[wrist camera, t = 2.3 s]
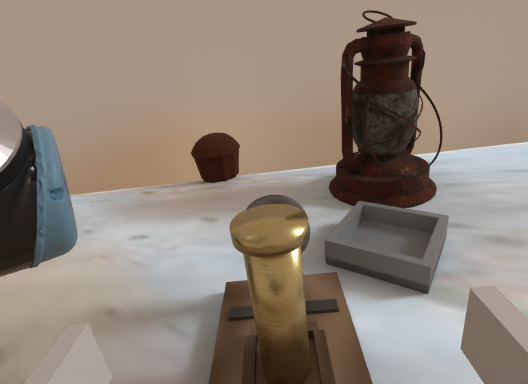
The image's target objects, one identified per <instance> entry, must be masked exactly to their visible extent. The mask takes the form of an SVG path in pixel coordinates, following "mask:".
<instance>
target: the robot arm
mask: <svg viewBox="0 0 528 384" xmlns="http://www.w3.org/2000/svg"><path fill="white" fill-rule="evenodd" d="M77 236H78V235H77V227H76V222H75V217H74V212H73V208H72V203H71V199H70V194H69V190H68V186H67V182H66V178H65V174H64V170H63V166H62V162H61V158H60V155H59V151H58V148H57V144H56V141H55V138H54V135H53V133H52V131H51V130H50V129H49V128H47V127H44V126H40V127H39V126H38V127H37V126H34V125H31V126H27V128H26V129H24V128H23V127H22V125H21V123H20V121H19V119H18V118H17V116H16V115H15V114H14V112H13V111H12V110H11V109H10V108H9V107H8V106H7V105H5V104H4V103H2V102H0V277H1V276H4V275H7V274H11V273H14V272H17V271H20V270H24V269H27V268H34V267H37V266H38V265H39V264H40V263H42V262H45V261H47V260H50V259H53V258H56V257H58V256H61V255H64V254H66V253H67V252H69V251H70V250H71V249H72V248H73V247H74V246H75V244H76V242H77ZM461 350H462V351H463V353H464V354H465V356H466V357H467V359H468V360H469V362H470V363H471V365H472V366H473V368H474V369H475V371H476V372H477V374H478V375H479V377H480V378H481V380H482V381H483V383H484V384H528V319H527V318H526V317H525V316H524V315H523V314H522V313H521V312H520V311H519V310H518V309H517V308H516V307H515V306H514V305H513V304H512V303H511V302H510V301H509V300H508V299H507V298H506V297H505V296H504V295H503V294H502V293H501V292H500V291H499V290H498V289H497V288H496V287H495V286H488V287H477V288H470V294H469V300H468V306H467V312H466V318H465V324H464V330H463V336H462V343H461ZM111 379H112V375H111V373H110V370H109V368H108V366H107V364H106V361H105V359H104V357H103V355H102V352H101V350H100V348H99V346H98V344H97V341H96V339H95V337H94V335H93V332H92V330H91V328H90V326H89V323H84V324H73V325H67V326H66V328H65V329H64V330H63V332H62V333H61V334H60V336H59V337H58V338H57V340H56V341H55V343H54V344H53V345H52V347H51V348H50V349H49V351H48V352H47V353H46V355H45V356H44V357H43V359H42V360H41V361H40V363H39V364H38V365H37V367H36V368H35V369H34V371H33V372H32V373H31V375H30V376H29V378H28V379H27V380H26V382H25V383H24V384H109V383H110V381H111Z"/></svg>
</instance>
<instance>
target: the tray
mask: <svg viewBox="0 0 528 384" xmlns="http://www.w3.org/2000/svg"><path fill="white" fill-rule="evenodd" d="M448 218H449V216H447V215H441V214H435V213H429V212H423V211H417V210H411V209H405V208H399V207H393V206H387V205H381V204H375V203H369V202H363V201H358V203H357V204H356V205H355V206H354V207H353V208H352V209H351V211H350V212H349V213H348V214H347V215H346V216H345V217H344V219H343V220H342V221H341V222H340V223H339V224H338V226H337V227H336V228H335V229H334V230H333V231H332V232H331V234H330V235H329V236H328V237H327V238H326V239H325V258H326V263H327V264H331V265H334V266H337V267H341V268H344V269H347V270H351V271H354V272H357V273H361V274H364V275H367V276H371V277H374V278H378V279H381V280H384V281H388V282H391V283H394V284H398V285H401V286H404V287H408V288H411V289H414V290H418V291H421V292H425V293H428V292H429V289H430V286H431V283H432V280H433V276H434V273H435V270H436V267H437V264H438V261H439V258H440V255H441V252H442V249H443V245H444V242H445V239H446V233H447V226H448Z"/></svg>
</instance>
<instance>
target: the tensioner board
mask: <svg viewBox="0 0 528 384" xmlns="http://www.w3.org/2000/svg"><path fill="white" fill-rule="evenodd" d="M266 204H286V205H291V206H294V207H297V208H299V209H301V210H302V211H304V209H303V208H302V207H301V206H300V204H298V203H297V202H296V201H295V200H293V199H291V198H289V197H286V196H282V195H268V196H264V197H261V198H259V199H257V200H255V201H254V202H253V203H251V204H250V205H249V206H248V208H247V209H249V208H252V207H256V206H260V205H266ZM247 209H246V210H247ZM304 212H305V211H304ZM308 228H309V236H308V238H307V240H306V242H305V243H304V244H303V245H302V246H301V253H302V252H303V251H304V250H305V248H306V247H307V245H308V242H309V239H310V227H309V223H308ZM303 279H304V292H305V304H306V317H307V329H308V342H309V354H310V366H311V367H310V374H309V376H308V378H307V380H306V381H305V382H304V383H303V384H372V381H371V378H370V374H369V371H368V368H367V365H366V362H365V359H364V356H363V353H362V350H361V347H360V343H359V340H358V337H357V334H356V331H355V328H354V325H353V322H352V319H351V315H350V312H349V309H348V306H347V303H346V300H345V297H344V294H343V291H342V288H341V284H340V281H339V278H338V275H337V272H335V273H324V274H312V275H303ZM209 384H270V383H269V382H268V381H267V380H266V378H265V376H264V373H263V368H262V362H261V356H260V350H259V344H258V338H257V332H256V326H255V320H254V314H253V308H252V302H251V296H250V291H249V285H248V280H246V281H235V282H226V287H225V293H224V299H223V305H222V310H221V316H220V322H219V328H218V334H217V340H216V346H215V351H214V357H213V363H212V369H211V375H210V381H209Z"/></svg>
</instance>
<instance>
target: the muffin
mask: <svg viewBox="0 0 528 384" xmlns="http://www.w3.org/2000/svg"><path fill="white" fill-rule="evenodd" d="M239 147H240V145H239V144H238V143H237V141H236V140H235V139H233V138H232V137H231V136H229V135H227V134H225V133H211V134H208V135H205V136H203V137H202V138H201V139H199V140H198V141H197V143H195V145H194V147H193V149H192V152H191V155H192V156H193V157H194V159H195V162H196V164H197V167H198V170H199V172H200V175H201V177H202V179H203V180H204V182H212V183H215V182H222V181H227V180H229V179H232V178H234V177H236V175H237V174H238V173H239V162H238V161H239V158H238V157H239Z"/></svg>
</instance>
